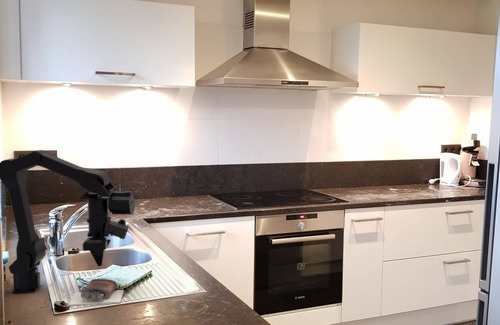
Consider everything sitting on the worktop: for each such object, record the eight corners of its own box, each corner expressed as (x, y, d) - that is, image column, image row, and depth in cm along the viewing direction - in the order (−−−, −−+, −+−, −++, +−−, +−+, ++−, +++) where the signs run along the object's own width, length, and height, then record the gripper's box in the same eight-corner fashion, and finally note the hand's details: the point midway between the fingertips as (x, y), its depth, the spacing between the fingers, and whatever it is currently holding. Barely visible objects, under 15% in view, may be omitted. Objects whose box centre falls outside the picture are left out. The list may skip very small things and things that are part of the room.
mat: (67, 306, 133) (67, 304, 133) (74, 294, 142) (74, 292, 142) (120, 303, 135) (120, 301, 135) (123, 291, 144) (123, 289, 144)
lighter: (117, 279, 144) (106, 292, 134) (117, 290, 144) (106, 303, 134) (90, 277, 144) (77, 289, 134) (90, 288, 144) (77, 301, 134)
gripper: (123, 220, 135) (124, 274, 136) (129, 207, 153) (130, 255, 155) (81, 221, 133) (83, 276, 135) (92, 208, 151) (94, 256, 153)
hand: (99, 265), depth 144 cm, fingers closed
